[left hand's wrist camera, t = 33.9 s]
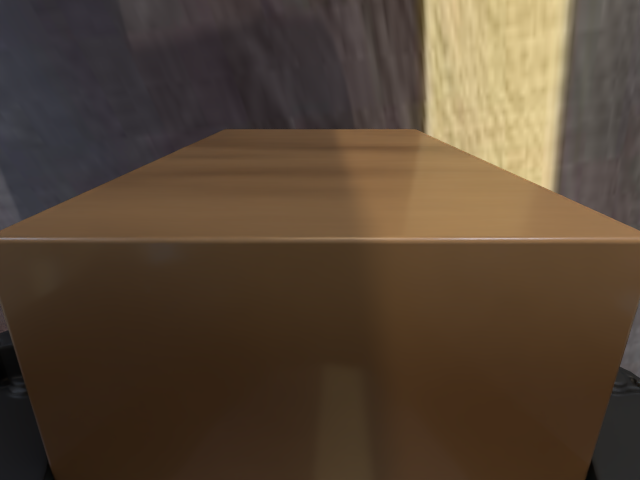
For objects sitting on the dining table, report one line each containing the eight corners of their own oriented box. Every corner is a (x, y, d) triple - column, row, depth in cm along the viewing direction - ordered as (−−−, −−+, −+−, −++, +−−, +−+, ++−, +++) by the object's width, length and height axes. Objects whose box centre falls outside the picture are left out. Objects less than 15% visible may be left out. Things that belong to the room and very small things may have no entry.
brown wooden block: (400, 339, 18) (517, 711, 7) (239, 339, 18) (121, 711, 7) (416, 129, 15) (661, 238, 4) (223, 129, 15) (-23, 238, 4)
